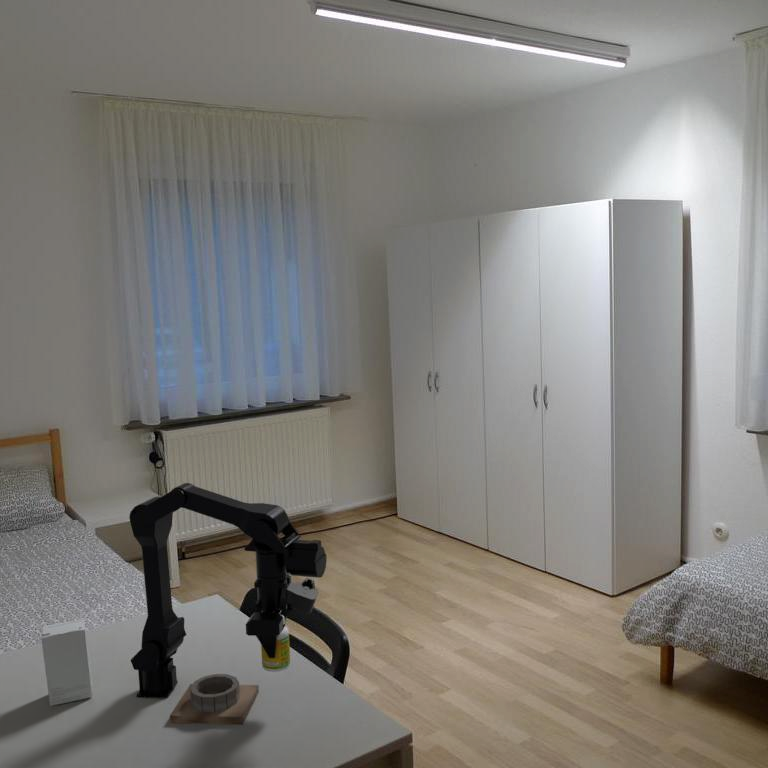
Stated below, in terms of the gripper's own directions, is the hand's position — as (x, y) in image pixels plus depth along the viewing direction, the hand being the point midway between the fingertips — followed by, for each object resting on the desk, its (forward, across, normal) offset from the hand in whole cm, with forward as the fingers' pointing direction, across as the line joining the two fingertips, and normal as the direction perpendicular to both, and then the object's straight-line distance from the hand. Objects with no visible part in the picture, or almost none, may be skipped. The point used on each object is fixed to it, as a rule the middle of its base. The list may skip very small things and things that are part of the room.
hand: (275, 650), depth 156 cm
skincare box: (+11, +2, +43) cm, 45 cm away
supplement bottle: (+3, 0, 0) cm, 3 cm away
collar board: (+11, -1, +12) cm, 17 cm away
